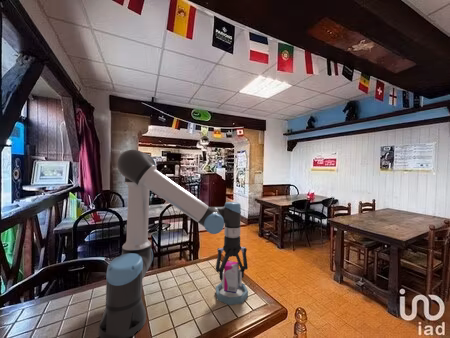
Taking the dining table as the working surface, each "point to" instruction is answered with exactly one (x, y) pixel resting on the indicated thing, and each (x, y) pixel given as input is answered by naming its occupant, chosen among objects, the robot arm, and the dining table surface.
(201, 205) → the robot arm
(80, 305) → the dining table surface
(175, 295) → the dining table surface
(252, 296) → the dining table surface
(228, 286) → the supplement box
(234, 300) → the dish
